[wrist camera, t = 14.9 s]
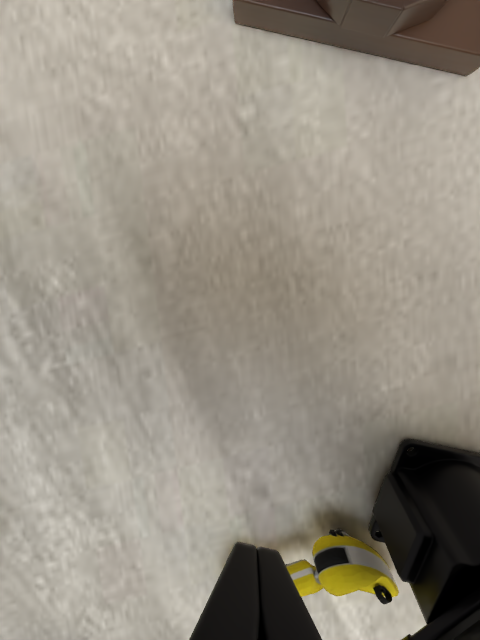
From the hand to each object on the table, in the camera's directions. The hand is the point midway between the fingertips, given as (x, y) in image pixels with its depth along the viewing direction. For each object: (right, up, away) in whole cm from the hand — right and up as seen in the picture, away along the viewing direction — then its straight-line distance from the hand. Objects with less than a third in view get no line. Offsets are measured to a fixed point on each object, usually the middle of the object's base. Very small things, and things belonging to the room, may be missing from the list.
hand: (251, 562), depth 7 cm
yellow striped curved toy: (+3, -10, +15) cm, 18 cm away
